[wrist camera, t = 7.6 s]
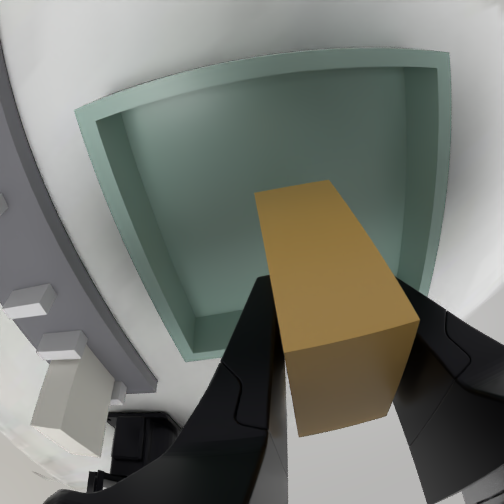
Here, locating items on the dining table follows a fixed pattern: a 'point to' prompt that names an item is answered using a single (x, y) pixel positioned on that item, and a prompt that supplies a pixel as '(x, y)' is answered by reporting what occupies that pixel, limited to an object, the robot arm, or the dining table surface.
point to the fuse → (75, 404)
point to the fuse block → (52, 269)
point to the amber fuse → (333, 308)
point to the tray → (269, 169)
